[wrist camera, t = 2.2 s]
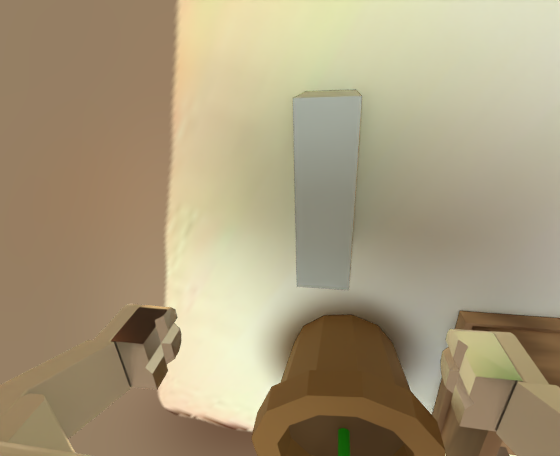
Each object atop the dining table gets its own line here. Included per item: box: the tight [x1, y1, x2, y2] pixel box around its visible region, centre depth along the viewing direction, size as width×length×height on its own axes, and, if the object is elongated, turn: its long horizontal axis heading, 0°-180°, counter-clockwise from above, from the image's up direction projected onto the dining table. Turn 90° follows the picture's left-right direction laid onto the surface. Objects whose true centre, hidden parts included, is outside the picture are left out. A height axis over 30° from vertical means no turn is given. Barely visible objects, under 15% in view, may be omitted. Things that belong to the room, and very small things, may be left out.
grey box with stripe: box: [293, 90, 362, 290], centre depth 22 cm, size 12×4×7 cm, turn 2°
